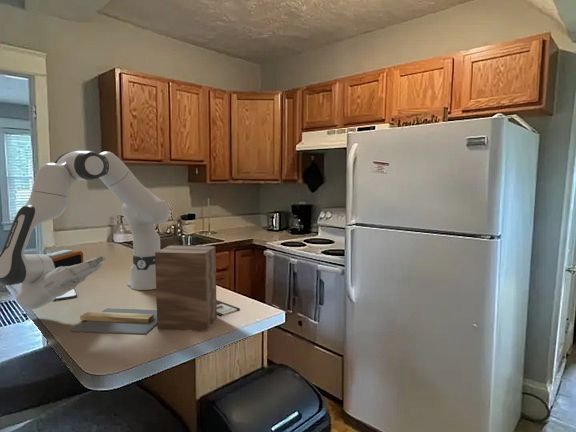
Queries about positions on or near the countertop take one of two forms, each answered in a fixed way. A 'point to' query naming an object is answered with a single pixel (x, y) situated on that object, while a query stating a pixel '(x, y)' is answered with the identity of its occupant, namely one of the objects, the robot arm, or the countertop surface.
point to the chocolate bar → (225, 308)
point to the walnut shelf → (186, 287)
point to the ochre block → (117, 317)
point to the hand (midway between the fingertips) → (95, 260)
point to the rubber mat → (119, 324)
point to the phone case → (67, 295)
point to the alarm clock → (66, 258)
